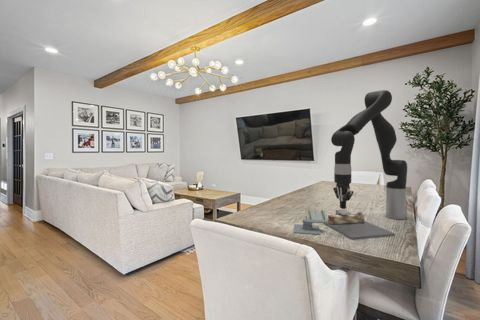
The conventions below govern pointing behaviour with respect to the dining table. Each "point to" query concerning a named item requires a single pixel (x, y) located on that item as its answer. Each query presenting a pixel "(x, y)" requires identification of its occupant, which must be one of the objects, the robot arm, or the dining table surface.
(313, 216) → the metal bracket
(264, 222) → the dining table surface
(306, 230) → the shower valve
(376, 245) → the dining table surface
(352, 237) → the base plate
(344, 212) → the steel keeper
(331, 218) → the brass latch lever
